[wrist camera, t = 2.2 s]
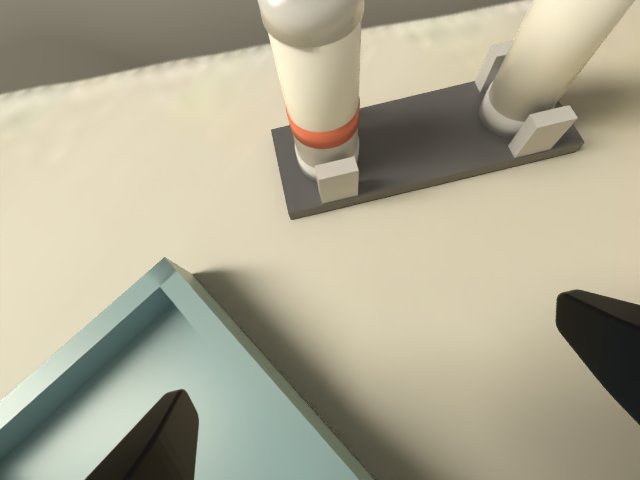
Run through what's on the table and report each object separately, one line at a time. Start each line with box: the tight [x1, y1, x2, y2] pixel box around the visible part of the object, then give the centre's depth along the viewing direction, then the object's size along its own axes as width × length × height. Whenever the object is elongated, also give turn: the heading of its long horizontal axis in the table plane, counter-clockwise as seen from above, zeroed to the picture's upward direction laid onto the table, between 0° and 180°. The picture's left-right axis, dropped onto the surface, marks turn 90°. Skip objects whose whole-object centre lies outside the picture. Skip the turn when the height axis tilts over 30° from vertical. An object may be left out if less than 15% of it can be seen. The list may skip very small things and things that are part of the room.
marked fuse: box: [258, 0, 364, 183], centre depth 18 cm, size 4×4×12 cm
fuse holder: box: [271, 41, 584, 220], centre depth 23 cm, size 7×20×4 cm, turn 103°
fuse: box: [479, 0, 635, 139], centre depth 18 cm, size 4×4×12 cm
